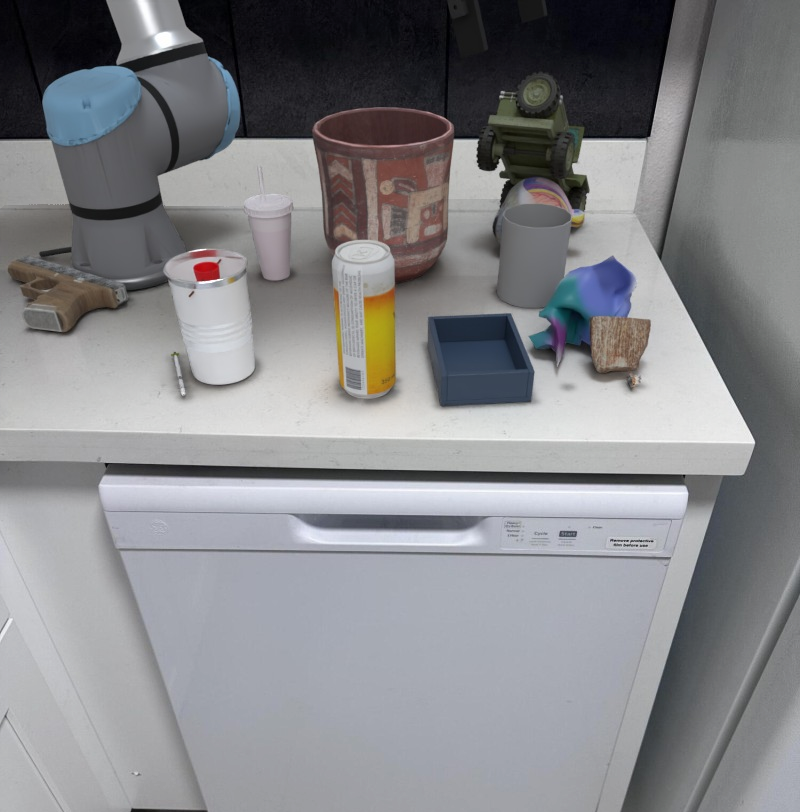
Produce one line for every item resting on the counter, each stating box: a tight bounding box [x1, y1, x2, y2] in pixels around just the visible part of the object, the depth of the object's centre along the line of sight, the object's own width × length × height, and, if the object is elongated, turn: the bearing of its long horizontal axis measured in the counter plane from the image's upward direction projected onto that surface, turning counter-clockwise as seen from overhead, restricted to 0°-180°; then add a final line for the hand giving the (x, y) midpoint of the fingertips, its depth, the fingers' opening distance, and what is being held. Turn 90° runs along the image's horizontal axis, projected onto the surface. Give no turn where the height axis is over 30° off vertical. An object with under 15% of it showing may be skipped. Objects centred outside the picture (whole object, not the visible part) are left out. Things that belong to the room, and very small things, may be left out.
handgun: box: [7, 255, 129, 333], centre depth 100 cm, size 3×19×12 cm
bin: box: [427, 312, 536, 407], centre depth 86 cm, size 10×13×4 cm
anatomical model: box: [491, 177, 586, 244], centre depth 109 cm, size 10×12×10 cm
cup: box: [496, 203, 572, 309], centre depth 99 cm, size 8×8×10 cm
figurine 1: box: [528, 255, 639, 368], centre depth 90 cm, size 13×12×9 cm
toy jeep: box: [475, 71, 591, 212], centre depth 110 cm, size 12×25×11 cm
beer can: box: [331, 240, 397, 400], centre depth 80 cm, size 6×6×15 cm
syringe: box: [170, 350, 186, 397], centre depth 87 cm, size 10×1×1 cm
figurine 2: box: [626, 372, 642, 389], centre depth 84 cm, size 8×2×1 cm, turn 94°
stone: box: [589, 316, 652, 374], centre depth 86 cm, size 7×6×5 cm
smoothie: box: [242, 165, 295, 281], centre depth 102 cm, size 6×6×14 cm
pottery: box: [311, 106, 455, 284], centre depth 103 cm, size 18×18×18 cm
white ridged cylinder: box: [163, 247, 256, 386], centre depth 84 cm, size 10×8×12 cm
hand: (506, 36), depth 80 cm, fingers open, 13 cm apart
